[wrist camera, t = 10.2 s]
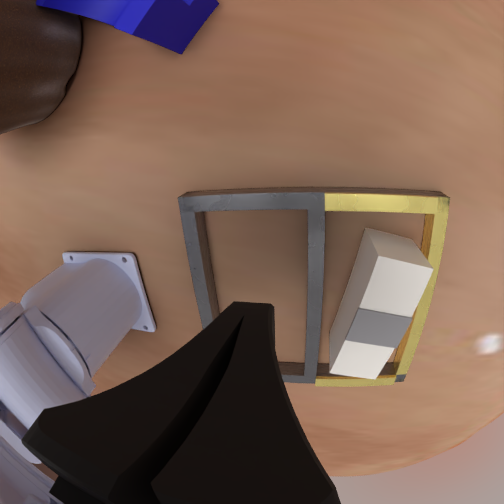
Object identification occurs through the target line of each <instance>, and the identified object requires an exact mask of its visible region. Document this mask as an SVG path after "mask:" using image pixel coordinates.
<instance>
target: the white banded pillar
mask: <svg viewBox="0 0 504 504" xmlns="http://www.w3.org/2000/svg"><path fill="white" fill-rule="evenodd" d="M432 272H433V267H432V266H431V264H430V263H429V262H428V260H427V259H426V257H425V256H424V255H423V253H422V252H421V251H420V249H419V248H418V247H417V245H416V244H415V243H414V241H413V240H412V239H410V238H406V237H402V236H399V235H395V234H391V233H387V232H383V231H379V230H375V229H371V228H367V227H365V230H364V234H363V237H362V240H361V244H360V247H359V250H358V253H357V257H356V260H355V263H354V266H353V269H352V272H351V275H350V278H349V281H348V284H347V287H346V290H345V292H344V295H343V298H342V301H341V303H340V306H339V309H338V312H337V314H336V317H335V319H334V322H333V325H332V327H331V330H330V332H329V350H330V364H329V373H332V374H338V375H345V376H352V377H359V378H367V379H376V378H377V376H378V375H379V373H380V372H381V370H382V368H383V367H384V365H385V364H386V362H387V360H388V359H389V357H390V355H391V354H392V352H393V350H394V348H397V347H398V345H399V343H400V341H401V340H402V338H403V336H404V334H405V332H406V331H407V329H408V327H409V325H410V323H411V321H412V315H413V313H414V311H415V309H416V307H417V305H418V303H419V301H420V299H421V297H422V294H423V292H424V290H425V288H426V286H427V283H428V281H429V279H430V277H431V274H432Z"/></svg>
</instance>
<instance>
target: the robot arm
mask: <svg viewBox="0 0 504 504" xmlns="http://www.w3.org/2000/svg"><path fill="white" fill-rule="evenodd" d="M62 256H63V260H64V264H63V265H61V266H60V267H58V268H57V269H56V270H54V271H53V272H51V273H50V274H49V275H47V276H46V277H45V278H43V279H42V280H41V281H39V282H38V283H37V284H35V285H34V286H33V287H31V288H30V289H29V290H28V291H27V292H26V293H25V294H24V296H23V297H22V300H21V302H20V303H17V304H16V303H15V302H9V303H8V304H7V305H6V306H4V307H3V308H2V309H1V310H0V504H341V503H340V500H339V497H338V494H337V490H336V487H335V485H334V484H333V482H332V481H331V479H330V477H329V476H328V474H327V473H326V471H325V470H324V468H323V466H322V465H321V463H320V461H319V460H318V458H317V456H316V454H315V452H314V451H313V449H312V447H311V445H310V443H309V441H308V440H307V437H306V435H305V433H304V431H303V429H302V427H301V425H300V423H299V420H298V418H297V416H296V414H295V412H294V409H293V407H292V404H291V402H290V399H289V396H288V394H287V391H286V388H285V385H284V382H283V379H282V375H281V372H280V368H279V364H278V360H277V356H276V351H275V319H274V306H273V305H272V304H268V303H250V302H235V301H234V302H233V303H232V304H231V305H229V306H228V307H227V308H226V309H225V310H224V311H223V312H222V313H221V314H220V315H219V316H218V317H217V318H215V319H214V320H213V321H212V322H211V323H210V324H209V325H208V326H207V327H206V328H204V329H203V330H202V331H201V332H200V333H199V334H197V335H196V336H195V337H194V338H193V339H192V340H190V341H189V342H188V343H187V344H185V345H184V346H183V347H181V348H180V349H179V350H178V351H176V352H175V353H174V354H172V355H171V356H169V357H168V358H166V359H165V360H163V361H162V362H160V363H159V364H157V365H156V366H154V367H152V368H151V369H149V370H147V371H146V372H144V373H142V374H140V375H138V376H136V377H134V378H132V379H130V380H128V381H126V382H124V383H122V384H120V385H118V386H116V387H114V388H112V389H109V390H107V391H104V392H102V393H99V394H97V395H94V396H91V395H90V394H91V392H92V391H93V390H94V388H95V387H96V385H95V384H94V382H93V381H92V380H91V378H92V377H93V376H94V374H95V373H96V372H97V371H98V369H99V368H100V367H101V365H102V364H103V363H104V362H105V360H106V359H107V358H108V356H109V355H110V354H111V353H112V351H113V350H114V349H115V348H116V346H117V345H118V344H119V343H120V341H121V340H122V339H123V338H124V336H125V335H126V334H127V333H128V331H129V330H130V329H136V330H142V331H148V332H154V331H155V330H156V325H155V322H154V319H153V316H152V313H151V310H150V307H149V303H148V300H147V297H146V293H145V290H144V287H143V283H142V279H141V276H140V272H139V269H138V265H137V261H136V258H135V256H134V255H133V254H132V253H112V252H64V253H63V255H62ZM124 257H125V258H126V260H127V261H126V260H125V258H124ZM41 462H42V463H44V464H45V465H46V466H47V467H49V468H50V469H51V470H52V471H54V472H55V473H56V474H58V475H59V476H58V478H57V479H56V481H53V480H52V479H50V478H49V477H48V476H46V475H45V474H44V473H43V472H41V471H40V470H38V469H37V468H36V467H35V466H34V465H32V464H31V463H36V464H40V463H41Z"/></svg>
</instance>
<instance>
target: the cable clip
mask: <svg viewBox="0 0 504 504" xmlns="http://www.w3.org/2000/svg"><path fill="white" fill-rule="evenodd" d="M36 5H38V6H43V7H48V8H53V9H58V10H62V11H66V12H70V13H74V14H78V15H82V16H85V17H88V18H92V19H95V20H98V21H101V22H104V23H107V24H110V25H113V26H115V27H114V28H116V29H119V30H121V31H124V32H126V33H129V34H131V35H134V36H137V37H140V38H142V39H145V40H148V41H150V42H153V43H155V44H158V45H160V46H163V47H165V48H167V49H170V50H172V51H174V52H177V53H179V54H182V53H183V51H184V50H185V48H186V47H187V45H188V44H189V43H190V41H191V40H192V38H193V37H194V36H195V34H196V33H197V31H198V30H199V29H200V27H201V26H202V25H203V23H204V22H205V21H206V20H207V18H208V17H209V16H210V14H211V13H212V12H213V11H214V9H215V8H216V7H217V6H218V5H219V2H218V1H217V0H37V1H36Z"/></svg>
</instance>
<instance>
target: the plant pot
mask: <svg viewBox="0 0 504 504" xmlns="http://www.w3.org/2000/svg"><path fill="white" fill-rule="evenodd" d="M36 1H37V0H0V134H2V133H5V132H8V131H11V130H14V129H17V128H20V127H23V126H27V125H31V124H35V123H38V122H40V121H42V120H43V119H45V118H46V117H48V116H49V115H50V114H51V113H52V112H53V111H54V110H55V108H56V107H57V106H58V105H59V103H60V102H61V100H62V99H63V97H64V95H65V93H66V91H65V86H66V84H67V82H68V80H69V78H70V77H71V76H72V74H73V73H74V72H75V70H76V67H77V63H78V59H79V54H80V49H81V37H82V35H81V24H80V20H79V17H78V15H77V14H74V13H70V12H66V11H62V10H58V9H53V8H48V7H43V6H38V5H36Z"/></svg>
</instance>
